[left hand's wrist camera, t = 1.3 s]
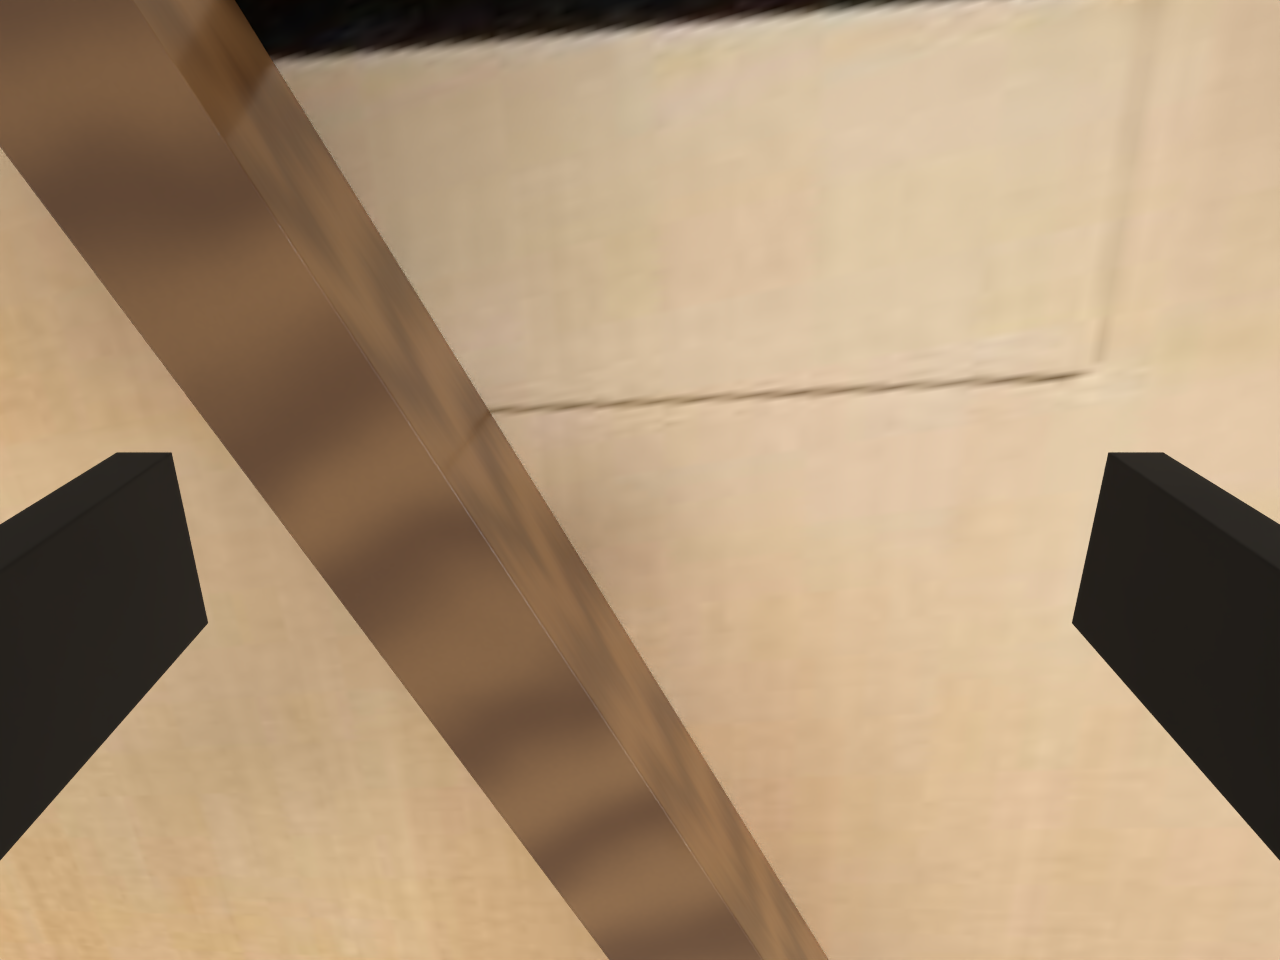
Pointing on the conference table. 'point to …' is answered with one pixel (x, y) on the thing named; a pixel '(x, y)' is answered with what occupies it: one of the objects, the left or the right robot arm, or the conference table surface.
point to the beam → (378, 456)
